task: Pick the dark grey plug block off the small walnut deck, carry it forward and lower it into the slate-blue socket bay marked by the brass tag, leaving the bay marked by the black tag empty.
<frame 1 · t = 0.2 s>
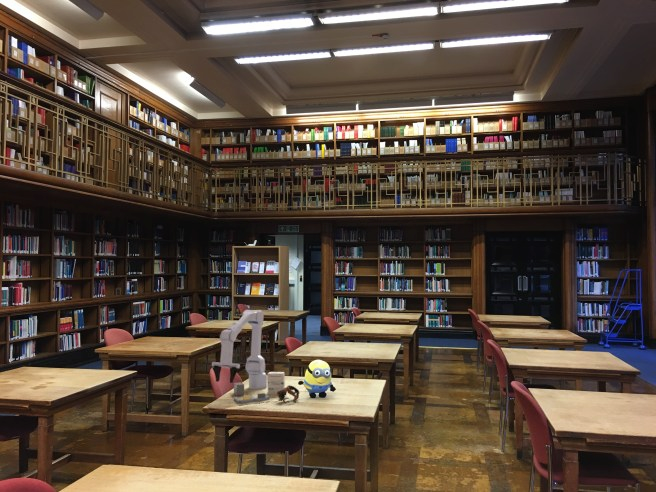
hand: (224, 382, 249), 11 cm above the table, tool pointing down, fingers open, 7 cm apart
plug: (239, 394, 261), point 1 cm above the table, touching deck
socket panel: (251, 401, 251), on the table
brass tag: (246, 399, 247), resting on socket panel
brown curved arch: (287, 401, 254), on the table
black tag: (261, 397, 250), resting on socket panel
deck: (239, 396, 261), on the table
ink box: (276, 395, 265), on the table
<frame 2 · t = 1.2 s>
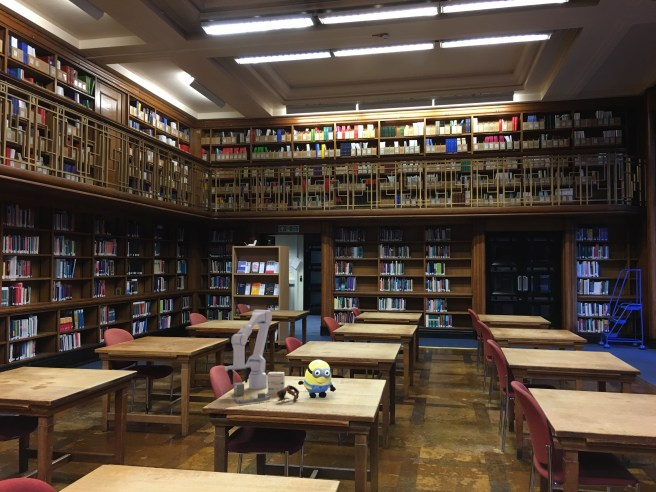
hand: (238, 383, 262), 7 cm above the table, tool pointing down, fingers open, 7 cm apart
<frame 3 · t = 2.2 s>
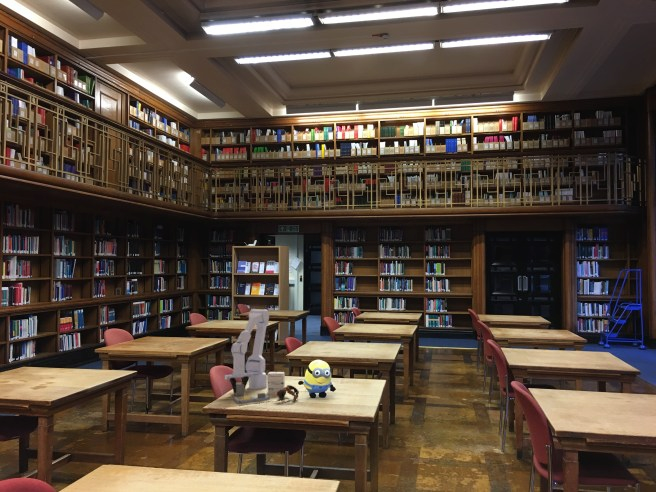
hand: (239, 391, 261), 2 cm above the table, tool pointing down, fingers closed on plug, 4 cm apart
plug: (239, 394, 261), point 1 cm above the table, touching deck, gripper
everything else where it was.
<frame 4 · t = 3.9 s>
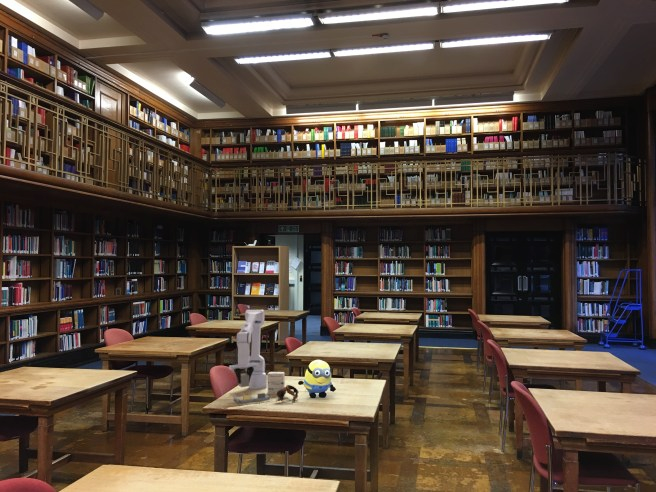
hand: (243, 383, 251), 9 cm above the table, tool pointing down, fingers closed on plug, 4 cm apart
plug: (243, 385, 251), point 8 cm above the table, touching gripper
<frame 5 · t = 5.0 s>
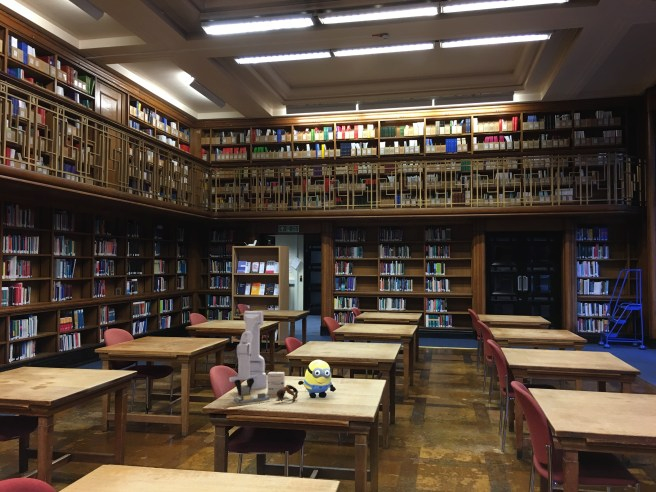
hand: (244, 394, 251), 4 cm above the table, tool pointing down, fingers closed on plug, 4 cm apart
plug: (243, 397, 251), point 2 cm above the table, touching gripper
when the fingers open (3 cm above the table, at t = 5.6 s): plug drops 1 cm, on the table.
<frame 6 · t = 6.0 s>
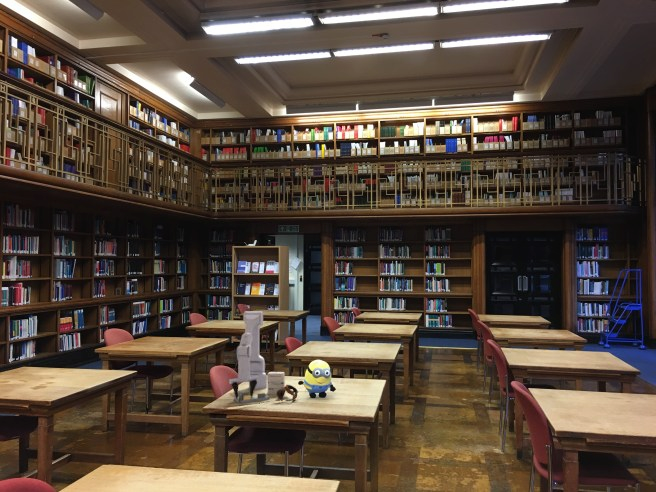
hand: (244, 396, 251), 3 cm above the table, tool pointing down, fingers open, 7 cm apart
plug: (243, 402, 251), on the table
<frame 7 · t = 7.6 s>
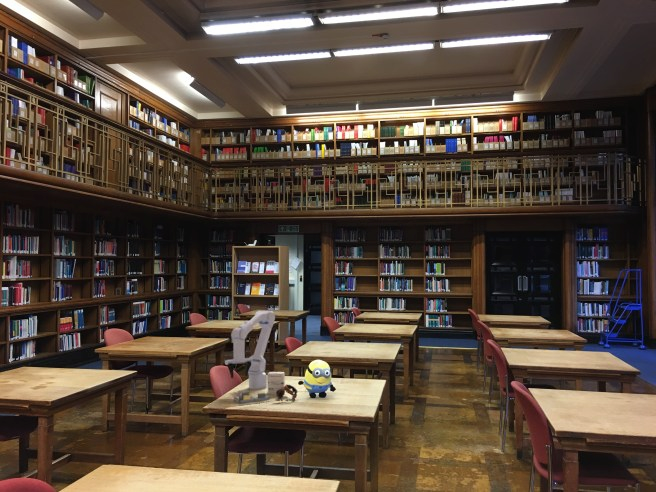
hand: (239, 376, 263), 10 cm above the table, tool pointing down, fingers open, 7 cm apart
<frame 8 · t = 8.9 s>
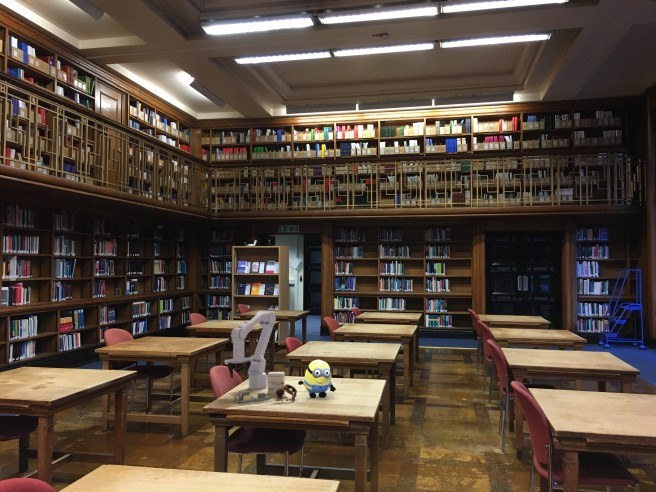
hand: (238, 376, 264), 10 cm above the table, tool pointing down, fingers open, 7 cm apart
at the end: plug 0.5 cm from the target spot, on the table; plug tilted 0°; the gripper is holding nothing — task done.
